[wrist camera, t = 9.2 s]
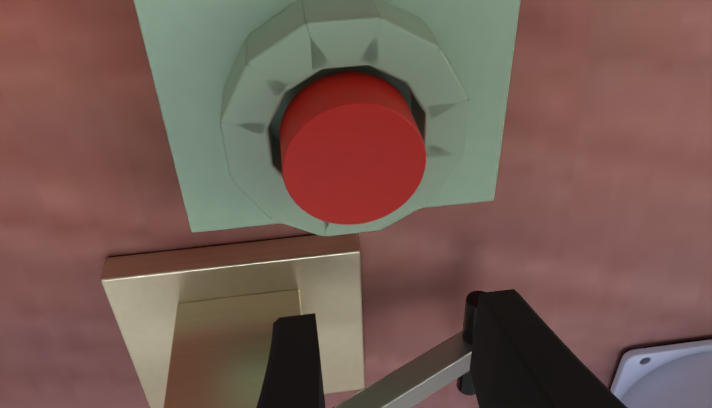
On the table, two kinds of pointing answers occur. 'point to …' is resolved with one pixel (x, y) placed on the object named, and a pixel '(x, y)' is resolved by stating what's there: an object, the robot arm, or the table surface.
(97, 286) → the table surface
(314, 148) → the stop button
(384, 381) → the power lever
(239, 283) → the switch bracket
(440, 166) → the stop box
